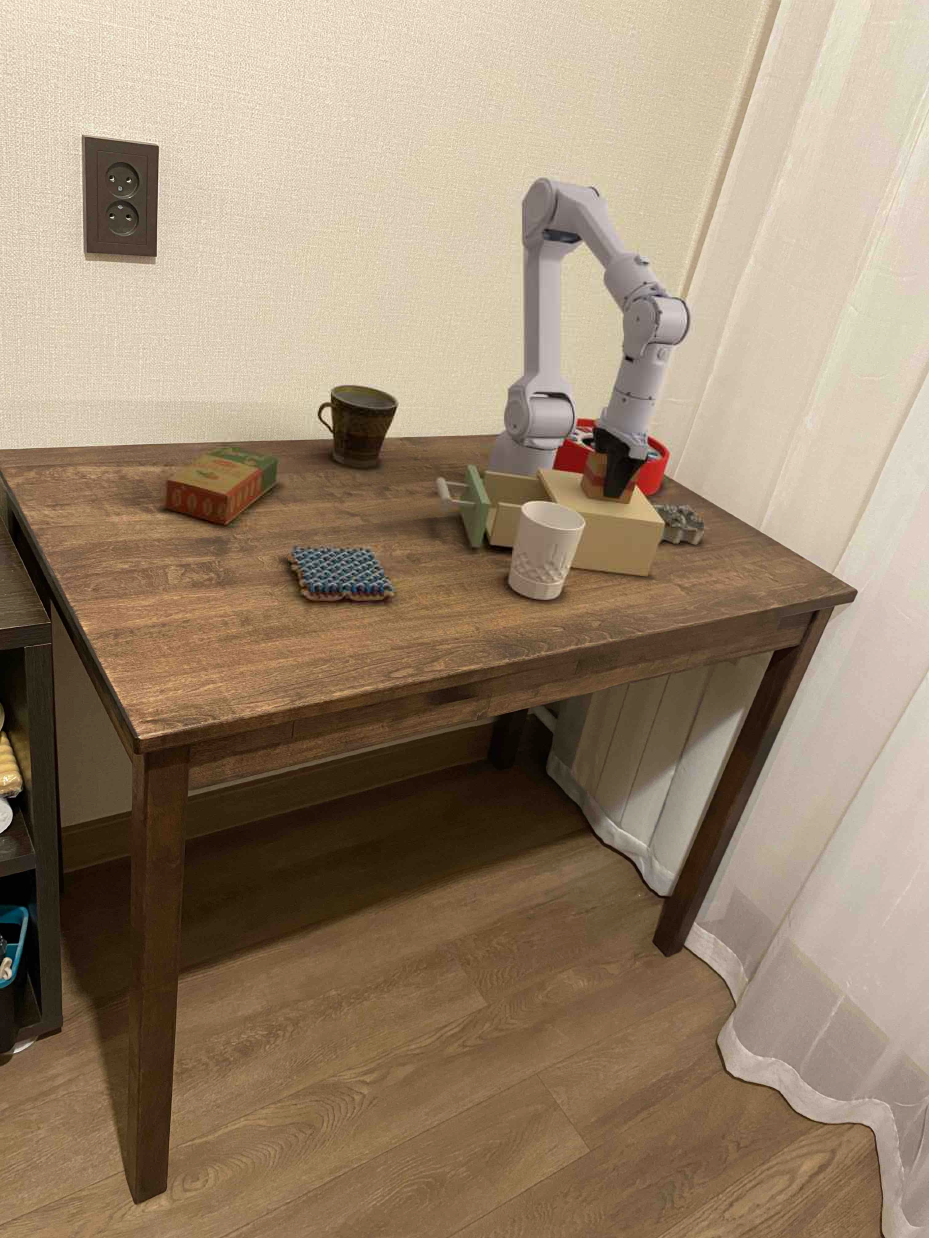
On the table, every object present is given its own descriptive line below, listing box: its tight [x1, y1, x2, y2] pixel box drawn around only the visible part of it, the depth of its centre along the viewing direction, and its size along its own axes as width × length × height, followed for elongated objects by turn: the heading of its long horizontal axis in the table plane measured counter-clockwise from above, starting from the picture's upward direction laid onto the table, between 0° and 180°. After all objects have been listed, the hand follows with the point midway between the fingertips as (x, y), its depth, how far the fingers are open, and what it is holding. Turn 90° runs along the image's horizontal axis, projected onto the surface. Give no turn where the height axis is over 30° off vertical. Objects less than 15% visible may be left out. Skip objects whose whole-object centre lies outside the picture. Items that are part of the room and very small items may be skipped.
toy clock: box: [552, 417, 671, 496], centre depth 157 cm, size 20×6×20 cm
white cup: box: [507, 501, 585, 601], centre depth 112 cm, size 8×8×10 cm
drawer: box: [434, 464, 553, 549], centre depth 124 cm, size 18×13×6 cm
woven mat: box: [287, 545, 395, 602], centre depth 105 cm, size 10×11×2 cm
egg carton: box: [651, 503, 710, 545], centre depth 138 cm, size 11×8×4 cm
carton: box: [164, 443, 279, 525], centre depth 117 cm, size 8×16×4 cm, turn 168°
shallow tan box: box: [535, 468, 665, 577], centre depth 127 cm, size 15×14×8 cm
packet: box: [580, 452, 640, 504], centre depth 123 cm, size 6×4×5 cm
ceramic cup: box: [317, 384, 399, 469], centre depth 136 cm, size 13×10×10 cm
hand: (605, 489), depth 124 cm, fingers closed on packet, 4 cm apart
